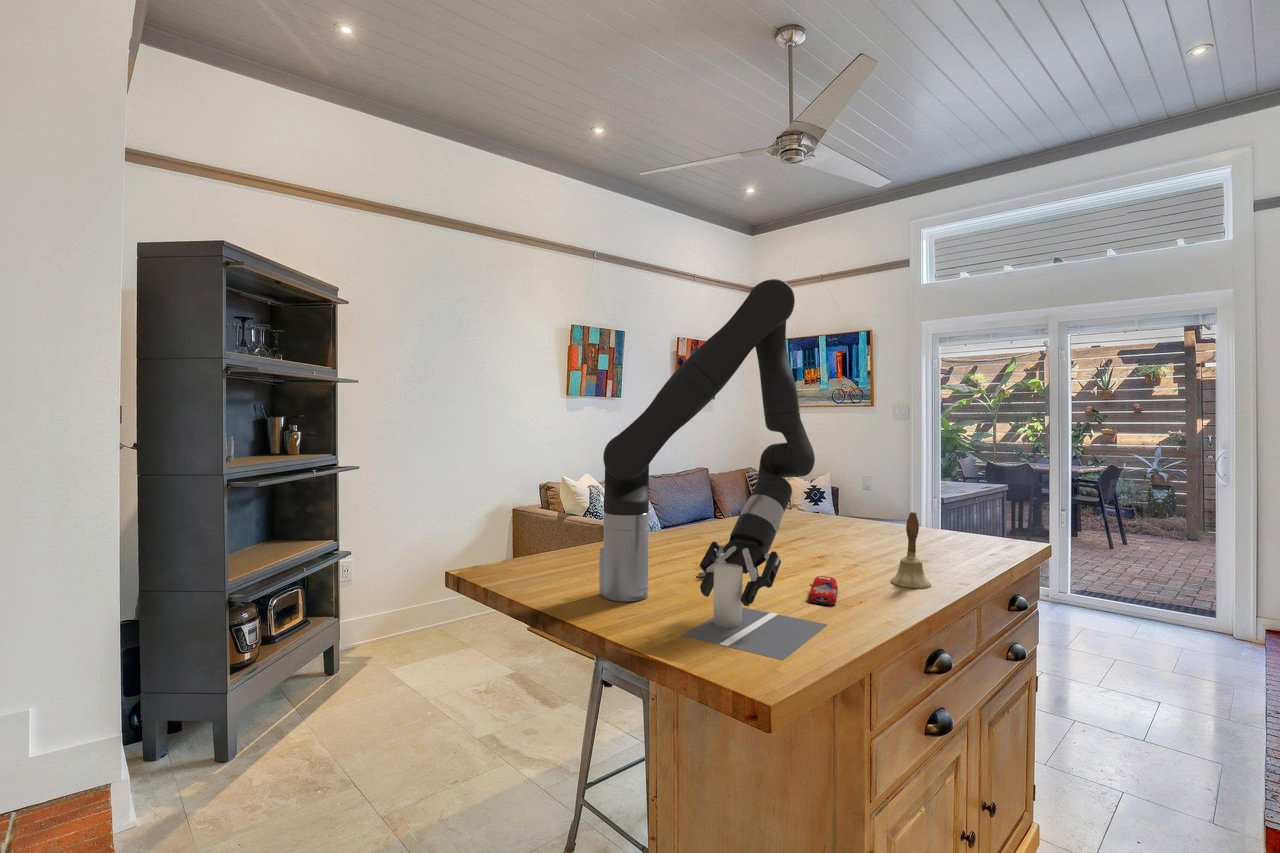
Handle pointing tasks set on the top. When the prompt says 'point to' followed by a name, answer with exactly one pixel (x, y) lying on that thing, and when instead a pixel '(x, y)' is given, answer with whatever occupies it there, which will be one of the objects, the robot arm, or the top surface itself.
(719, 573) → the white cylinder
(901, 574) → the hand bell
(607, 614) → the top surface
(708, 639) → the gray striped mat
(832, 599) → the race car
